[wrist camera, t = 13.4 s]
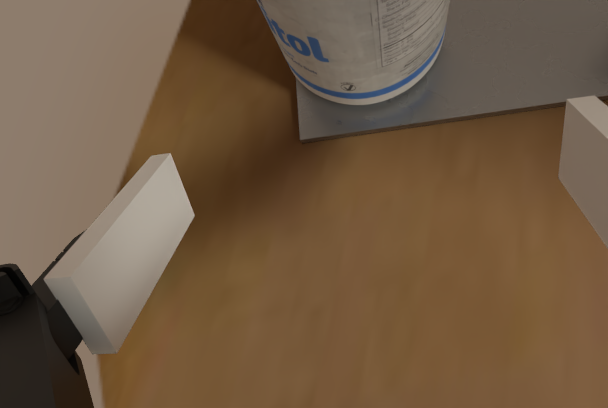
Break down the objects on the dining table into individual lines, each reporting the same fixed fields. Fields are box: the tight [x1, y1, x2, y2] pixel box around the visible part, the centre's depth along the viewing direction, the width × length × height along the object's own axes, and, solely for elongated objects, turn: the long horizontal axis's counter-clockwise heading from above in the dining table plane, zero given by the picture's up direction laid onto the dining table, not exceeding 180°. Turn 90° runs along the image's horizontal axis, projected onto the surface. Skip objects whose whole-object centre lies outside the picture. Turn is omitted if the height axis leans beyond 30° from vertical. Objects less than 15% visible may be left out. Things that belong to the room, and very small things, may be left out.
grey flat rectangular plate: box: [296, 0, 608, 143], centre depth 26 cm, size 26×12×1 cm, turn 94°
